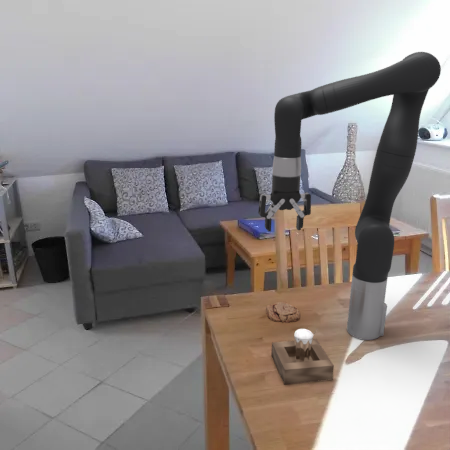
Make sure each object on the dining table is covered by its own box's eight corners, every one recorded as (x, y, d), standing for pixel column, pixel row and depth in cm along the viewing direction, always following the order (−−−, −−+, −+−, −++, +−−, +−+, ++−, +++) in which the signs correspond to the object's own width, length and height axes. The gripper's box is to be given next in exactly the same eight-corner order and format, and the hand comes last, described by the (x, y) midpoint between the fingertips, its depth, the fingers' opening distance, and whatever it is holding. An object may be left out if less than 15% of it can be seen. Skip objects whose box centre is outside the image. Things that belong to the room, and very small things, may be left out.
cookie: (297, 326, 141) (297, 317, 140) (261, 320, 144) (262, 311, 143) (302, 311, 150) (303, 302, 149) (269, 305, 153) (269, 297, 152)
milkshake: (313, 370, 118) (316, 334, 115) (291, 367, 120) (294, 331, 116) (314, 359, 123) (317, 324, 120) (293, 357, 124) (295, 322, 121)
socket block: (315, 352, 128) (316, 338, 127) (332, 379, 117) (333, 365, 115) (271, 355, 126) (271, 342, 125) (284, 384, 115) (284, 369, 113)
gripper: (307, 169, 135) (303, 225, 140) (257, 170, 133) (255, 227, 138) (316, 175, 128) (312, 233, 133) (264, 176, 126) (261, 235, 131)
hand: (283, 230), depth 135 cm, fingers open, 8 cm apart
